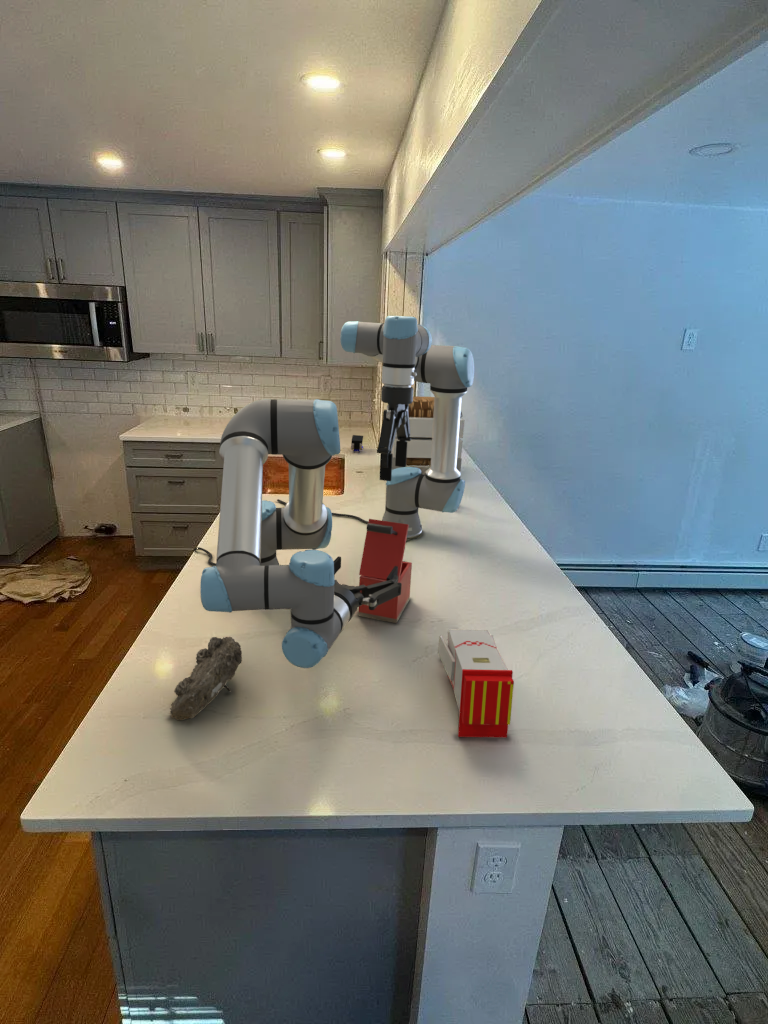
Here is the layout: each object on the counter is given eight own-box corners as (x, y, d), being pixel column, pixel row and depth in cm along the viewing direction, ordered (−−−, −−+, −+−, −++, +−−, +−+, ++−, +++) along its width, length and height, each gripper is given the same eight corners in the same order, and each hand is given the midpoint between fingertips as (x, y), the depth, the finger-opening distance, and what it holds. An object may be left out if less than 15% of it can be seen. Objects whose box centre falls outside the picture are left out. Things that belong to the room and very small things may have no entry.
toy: (488, 613, 130) (523, 677, 101) (484, 667, 133) (517, 744, 104) (435, 612, 130) (455, 676, 101) (432, 666, 133) (451, 743, 103)
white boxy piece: (382, 463, 289) (386, 382, 275) (445, 464, 293) (451, 384, 279) (390, 482, 257) (394, 392, 243) (460, 483, 261) (468, 394, 247)
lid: (370, 519, 144) (360, 513, 136) (408, 525, 141) (401, 519, 133) (360, 575, 142) (349, 573, 134) (399, 581, 140) (391, 580, 131)
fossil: (193, 639, 125) (242, 608, 120) (224, 667, 128) (272, 638, 123) (147, 714, 105) (202, 680, 100) (184, 746, 108) (239, 715, 103)
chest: (374, 592, 158) (375, 556, 154) (409, 599, 155) (412, 562, 152) (358, 615, 146) (359, 577, 142) (396, 623, 143) (398, 584, 139)
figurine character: (362, 456, 306) (363, 447, 319) (363, 443, 302) (363, 434, 316) (350, 456, 306) (351, 446, 319) (350, 442, 302) (351, 433, 316)
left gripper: (275, 615, 114) (316, 572, 134) (393, 639, 108) (419, 590, 127) (274, 582, 112) (316, 543, 131) (395, 605, 105) (421, 560, 125)
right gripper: (398, 393, 120) (394, 488, 128) (425, 381, 143) (419, 462, 150) (365, 390, 122) (362, 484, 129) (396, 378, 145) (392, 459, 152)
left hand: (367, 566), depth 129 cm, fingers open, 13 cm apart
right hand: (393, 473), depth 140 cm, fingers open, 13 cm apart
